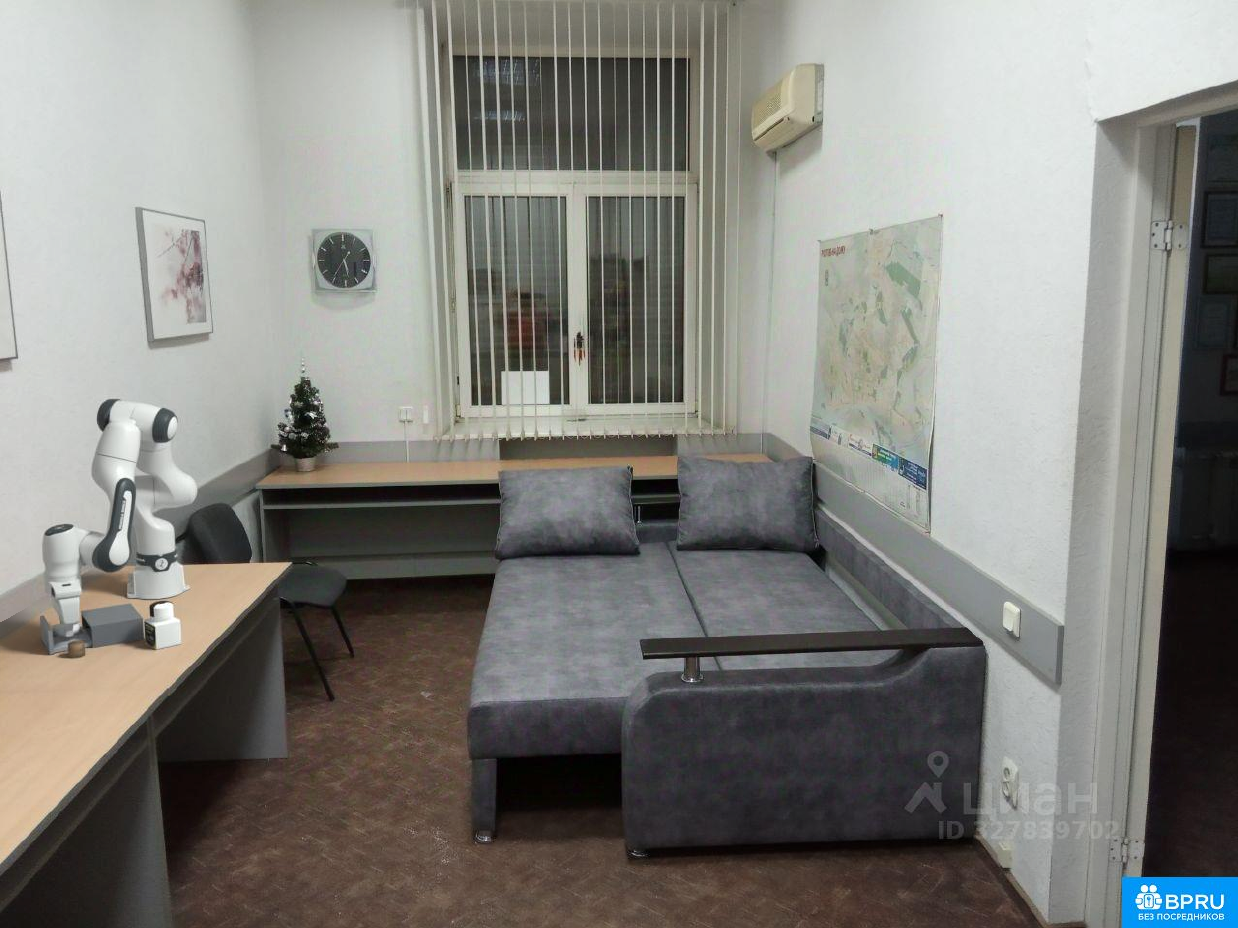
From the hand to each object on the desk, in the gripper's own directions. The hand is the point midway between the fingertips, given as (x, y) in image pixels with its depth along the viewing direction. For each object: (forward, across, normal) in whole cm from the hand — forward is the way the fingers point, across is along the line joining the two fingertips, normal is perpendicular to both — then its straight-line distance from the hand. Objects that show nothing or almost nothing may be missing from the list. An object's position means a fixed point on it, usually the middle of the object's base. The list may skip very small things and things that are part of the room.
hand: (66, 631), depth 276 cm
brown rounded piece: (+3, +12, 0) cm, 12 cm away
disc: (0, 0, 0) cm, 0 cm away
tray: (+3, 0, +1) cm, 3 cm away
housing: (+3, 0, +11) cm, 12 cm away
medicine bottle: (+3, +15, +22) cm, 26 cm away
